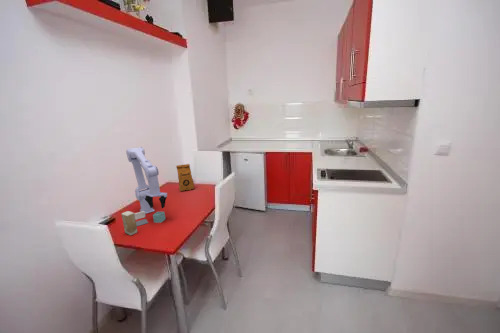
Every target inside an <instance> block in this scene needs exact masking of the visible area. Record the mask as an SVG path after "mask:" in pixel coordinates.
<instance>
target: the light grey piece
mask: <svg viewBox="0 0 500 333" xmlns="http://www.w3.org/2000/svg"><path fill="white" fill-rule="evenodd" d="M134 215H135V220H136V221H138V220H139V219H140V220H141V219H143V218H144V219H145V218H146V214H145V211H142V212H141V211H139V212H134Z"/></svg>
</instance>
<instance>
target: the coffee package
mask: <svg viewBox="0 0 500 333" xmlns="http://www.w3.org/2000/svg"><path fill="white" fill-rule="evenodd" d="M175 166H176V167H175V168H176V170H177V178H178V190H179V192H183V191H184V192H186V191H192V190H191V189H193V190H194V188H195V183H194V178H193V176H192V171H191V170H192V169H191V167H190V166H191V165H190V164H189V163H186V164H179V165H175ZM185 190H186V191H185Z"/></svg>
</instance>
